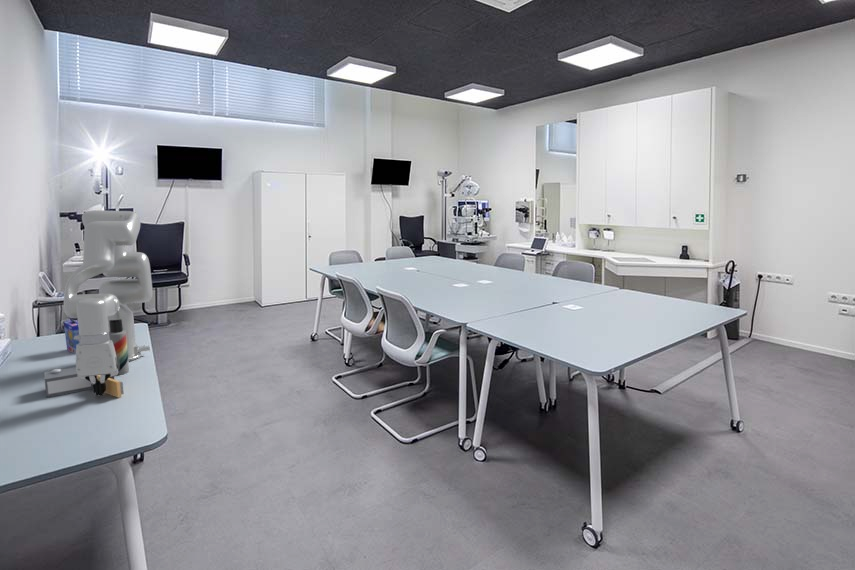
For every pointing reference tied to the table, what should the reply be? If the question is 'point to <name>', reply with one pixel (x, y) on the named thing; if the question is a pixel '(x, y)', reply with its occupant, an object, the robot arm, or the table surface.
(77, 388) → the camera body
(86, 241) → the robot arm
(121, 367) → the lotion bottle
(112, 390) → the tall beige panel
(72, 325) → the ink cartridge box
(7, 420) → the table surface
